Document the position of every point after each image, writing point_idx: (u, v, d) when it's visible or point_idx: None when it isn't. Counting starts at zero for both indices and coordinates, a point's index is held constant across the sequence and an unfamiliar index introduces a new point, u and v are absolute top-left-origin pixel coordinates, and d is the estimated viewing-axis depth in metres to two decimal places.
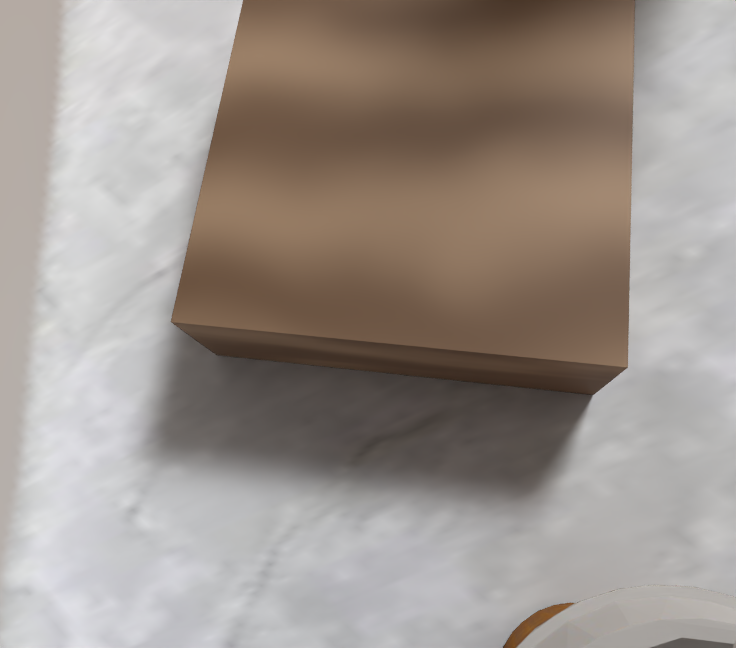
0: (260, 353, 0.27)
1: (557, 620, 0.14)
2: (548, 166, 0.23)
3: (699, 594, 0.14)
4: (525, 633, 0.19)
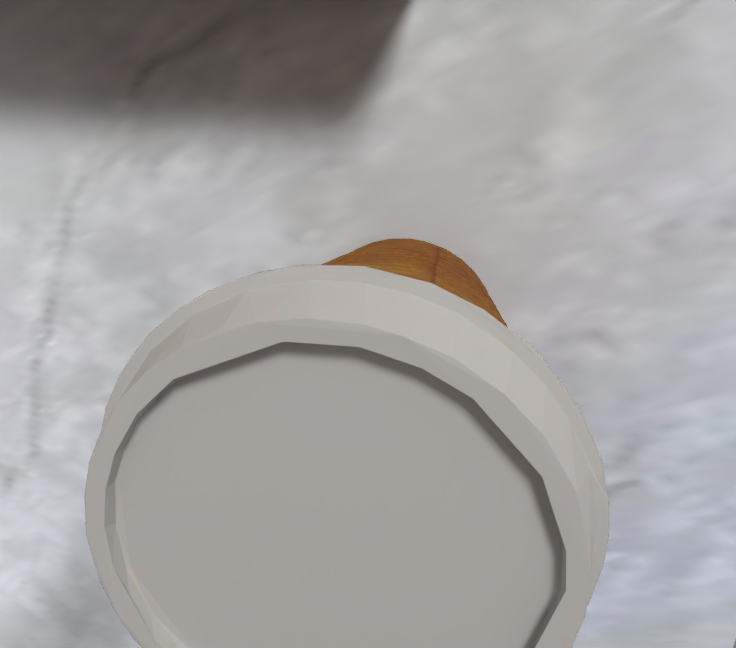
0: None
1: (181, 314, 0.11)
2: None
3: (350, 275, 0.10)
4: None
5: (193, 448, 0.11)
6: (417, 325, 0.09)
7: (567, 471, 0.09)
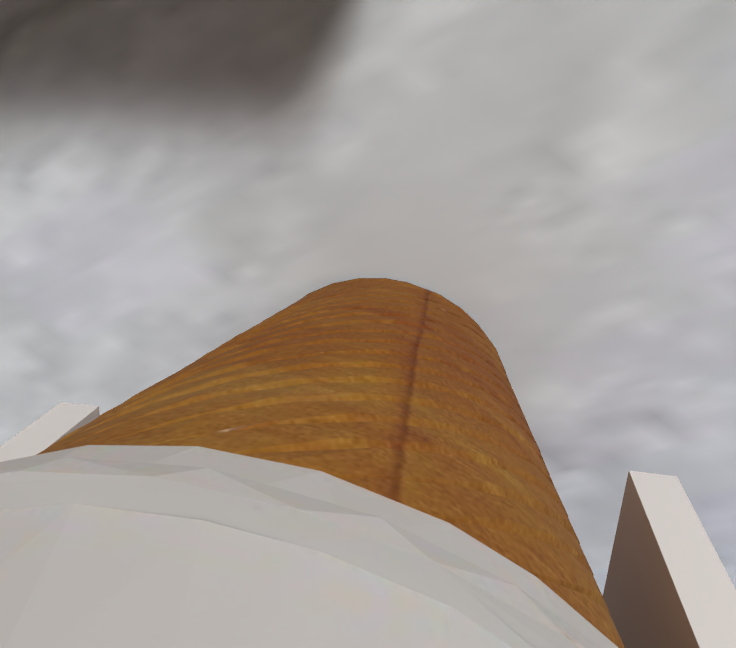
0: None
1: None
2: None
3: (165, 502, 0.04)
4: None
5: None
6: None
7: None
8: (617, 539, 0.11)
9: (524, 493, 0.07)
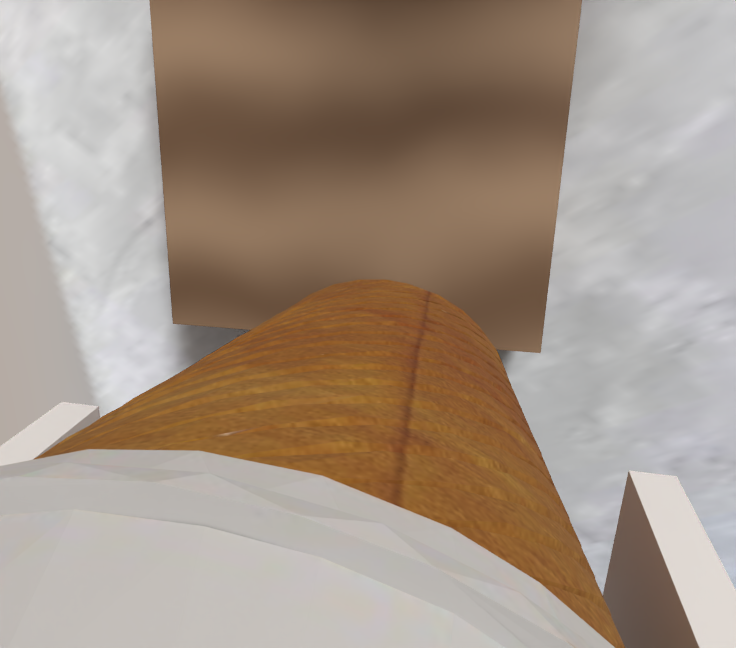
0: None
1: None
2: (482, 167, 0.24)
3: (165, 508, 0.04)
4: None
5: None
6: None
7: None
8: (617, 539, 0.11)
9: (526, 496, 0.07)
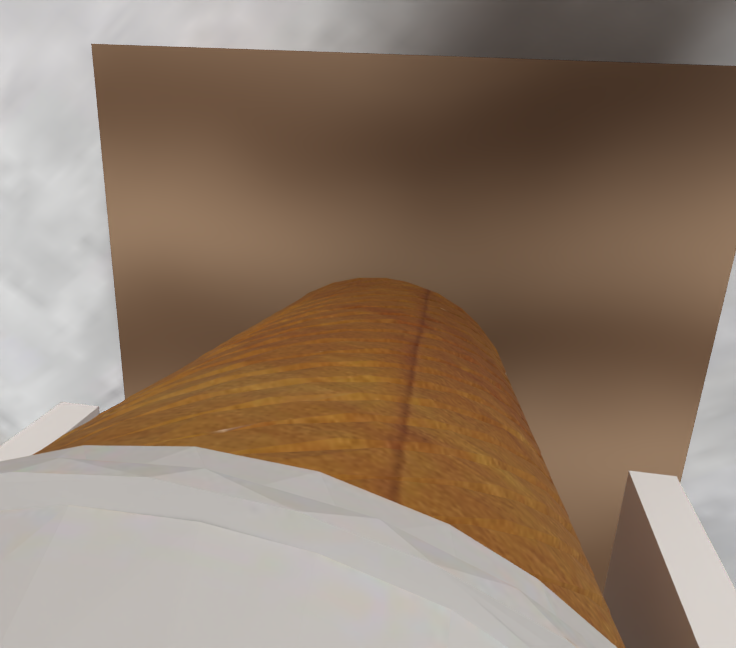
0: None
1: None
2: (577, 414, 0.17)
3: (160, 504, 0.04)
4: None
5: None
6: None
7: None
8: (617, 539, 0.11)
9: (525, 494, 0.07)
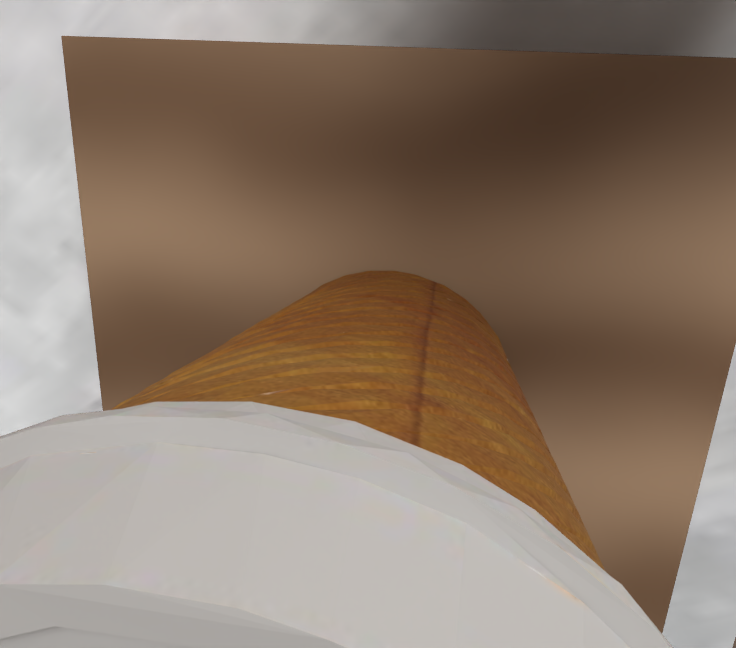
0: None
1: None
2: (584, 433, 0.16)
3: (233, 439, 0.05)
4: None
5: None
6: (371, 587, 0.04)
7: None
8: None
9: (525, 454, 0.08)
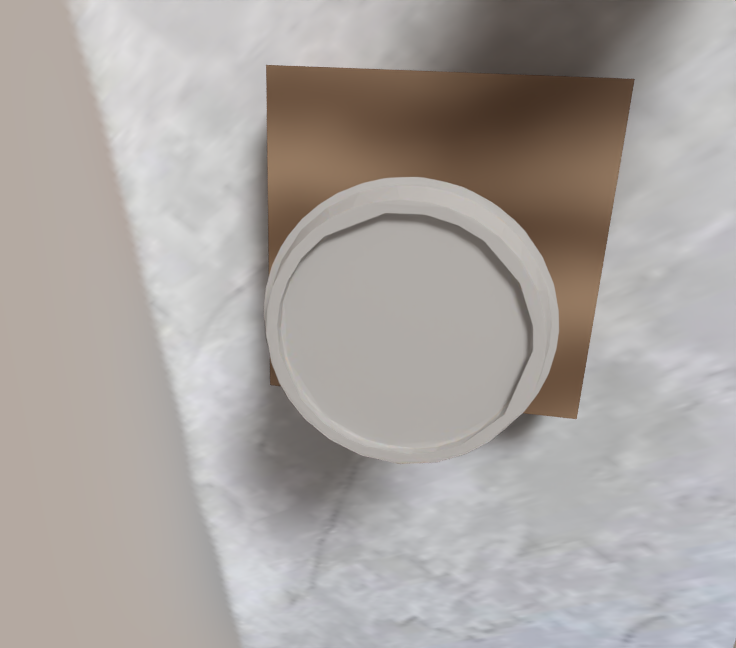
0: None
1: (321, 207, 0.20)
2: None
3: (417, 182, 0.19)
4: None
5: (329, 279, 0.19)
6: (455, 204, 0.18)
7: (533, 280, 0.18)
8: None
9: None
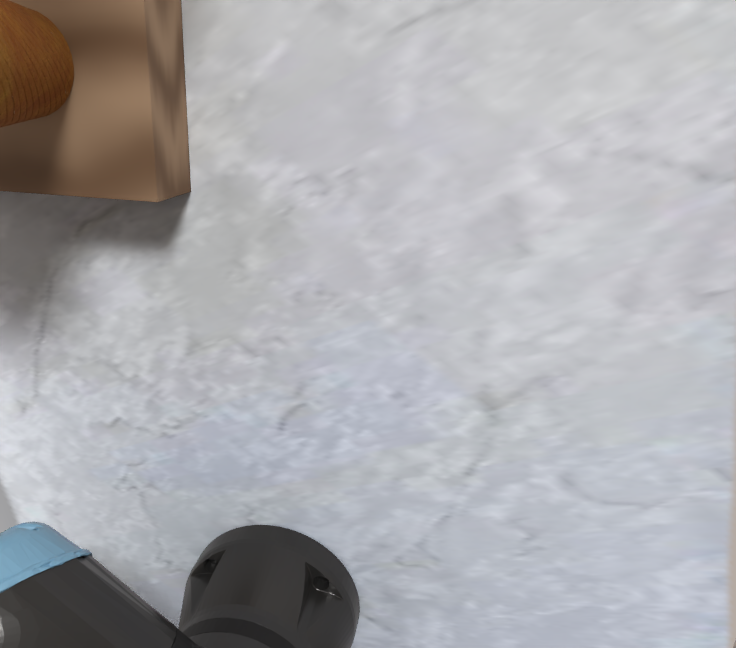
0: None
1: None
2: (104, 78, 0.39)
3: None
4: None
5: None
6: None
7: None
8: None
9: None
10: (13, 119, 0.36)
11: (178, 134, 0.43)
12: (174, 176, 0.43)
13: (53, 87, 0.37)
